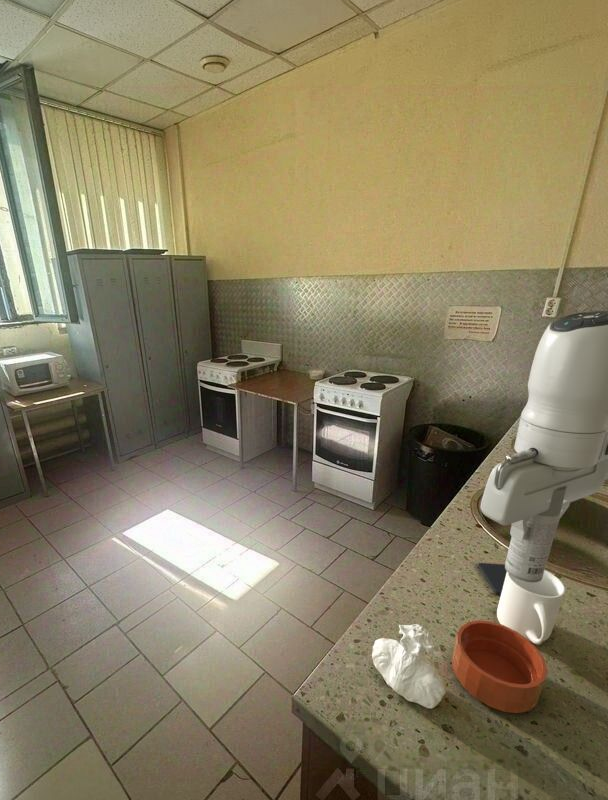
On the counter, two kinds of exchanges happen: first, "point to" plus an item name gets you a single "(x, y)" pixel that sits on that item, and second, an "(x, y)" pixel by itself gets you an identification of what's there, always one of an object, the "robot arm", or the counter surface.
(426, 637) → the white plastic bag
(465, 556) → the counter surface
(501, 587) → the mat
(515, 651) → the bowl
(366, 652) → the counter surface
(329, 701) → the counter surface
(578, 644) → the counter surface
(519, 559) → the container
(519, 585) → the mug
